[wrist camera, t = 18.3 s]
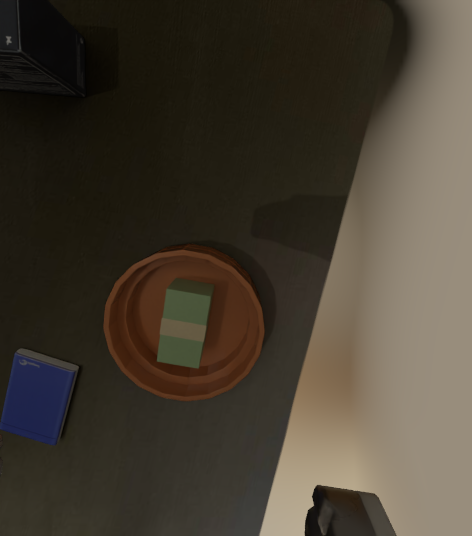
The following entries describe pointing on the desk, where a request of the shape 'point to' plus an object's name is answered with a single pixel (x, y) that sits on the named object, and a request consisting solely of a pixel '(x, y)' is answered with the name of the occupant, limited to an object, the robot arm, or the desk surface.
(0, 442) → the robot arm
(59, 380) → the hard drive
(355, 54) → the desk surface
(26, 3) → the small box
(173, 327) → the package
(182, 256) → the bowl
